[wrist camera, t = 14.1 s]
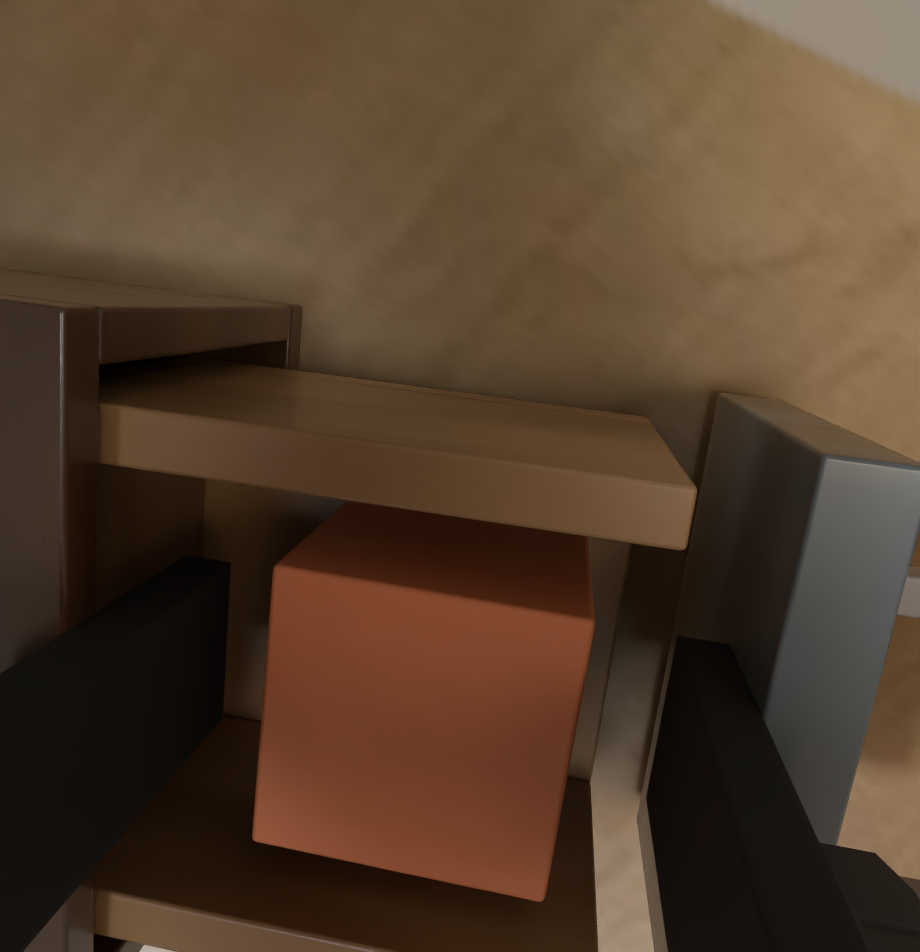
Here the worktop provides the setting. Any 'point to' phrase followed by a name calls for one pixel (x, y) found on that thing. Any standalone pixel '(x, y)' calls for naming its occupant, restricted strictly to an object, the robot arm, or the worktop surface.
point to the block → (424, 695)
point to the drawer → (506, 502)
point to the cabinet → (88, 455)
